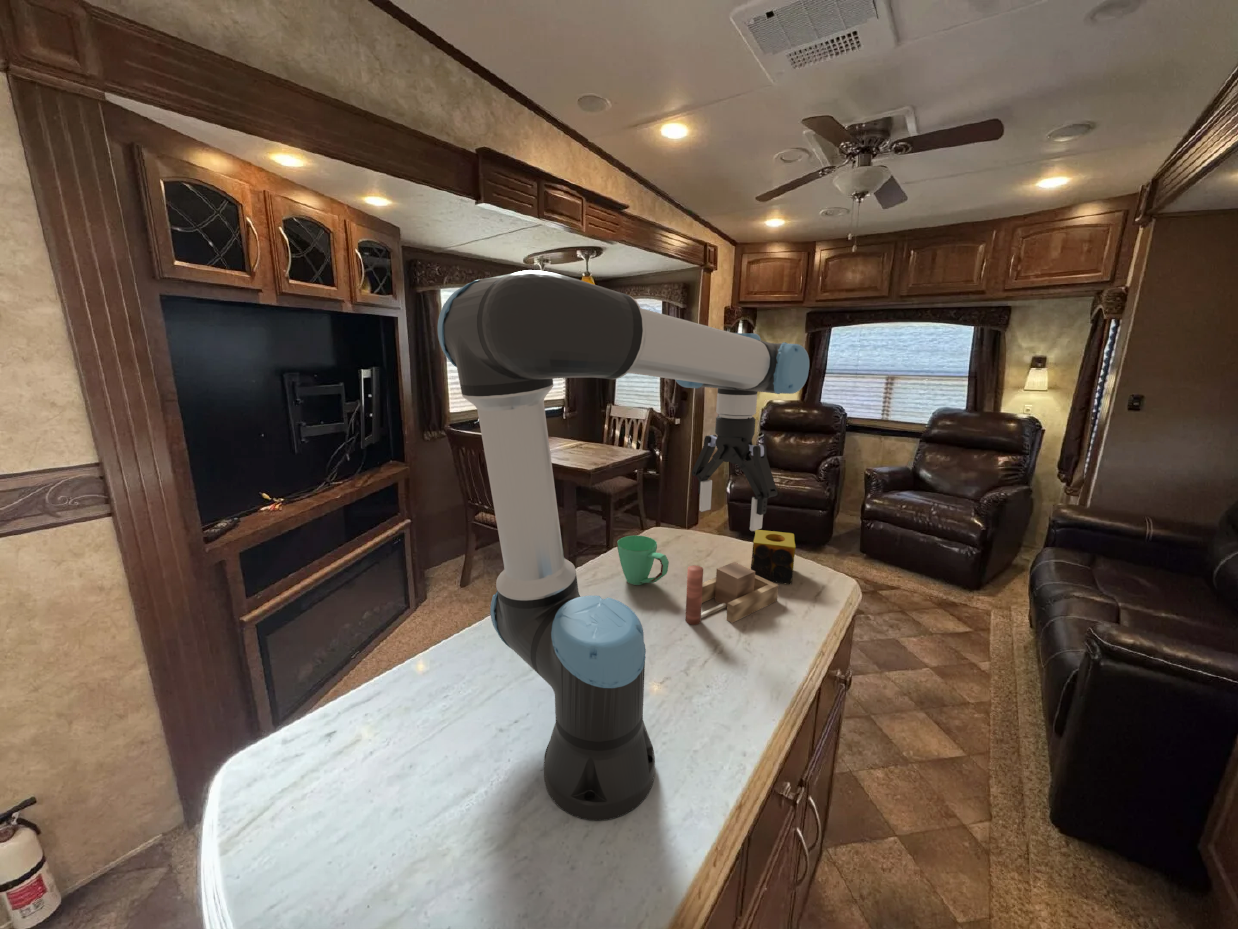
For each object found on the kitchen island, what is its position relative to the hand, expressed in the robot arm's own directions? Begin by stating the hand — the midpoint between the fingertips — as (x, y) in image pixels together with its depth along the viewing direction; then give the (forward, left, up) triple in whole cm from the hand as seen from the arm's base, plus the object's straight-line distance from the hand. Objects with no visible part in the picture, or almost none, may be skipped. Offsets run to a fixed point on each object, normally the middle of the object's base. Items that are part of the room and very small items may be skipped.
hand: (728, 519), depth 99 cm
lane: (+7, +3, -22) cm, 24 cm away
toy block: (+26, +7, -23) cm, 35 cm away
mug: (-4, +22, -23) cm, 32 cm away
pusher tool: (+1, +3, -22) cm, 23 cm away
